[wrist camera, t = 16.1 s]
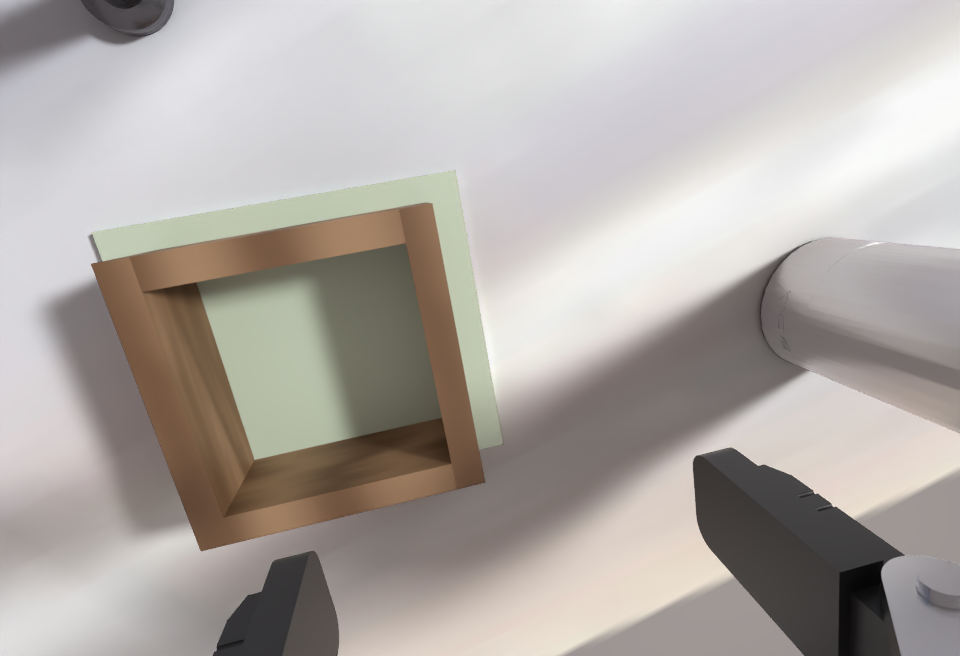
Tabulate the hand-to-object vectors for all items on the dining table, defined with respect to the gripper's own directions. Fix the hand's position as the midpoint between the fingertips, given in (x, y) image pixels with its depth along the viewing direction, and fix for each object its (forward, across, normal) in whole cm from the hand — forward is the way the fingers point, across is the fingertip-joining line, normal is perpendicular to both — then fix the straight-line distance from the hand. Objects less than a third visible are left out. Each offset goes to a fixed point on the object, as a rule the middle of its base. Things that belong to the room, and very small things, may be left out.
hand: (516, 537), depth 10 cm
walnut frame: (+22, +7, +1) cm, 23 cm away
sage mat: (+22, +8, +1) cm, 23 cm away
